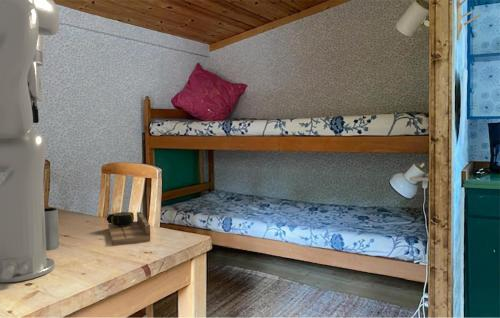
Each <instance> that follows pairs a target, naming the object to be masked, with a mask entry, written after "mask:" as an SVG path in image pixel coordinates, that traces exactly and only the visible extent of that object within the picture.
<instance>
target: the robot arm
mask: <svg viewBox="0 0 500 318" xmlns="http://www.w3.org/2000/svg"><path fill="white" fill-rule="evenodd" d="M60 24H61V19H60V14H59V10H58V6H57V4H56V3H55V1H54V0H0V174H4V175H5V177H4V178H3V179H2V181H1V182H0V283H2V284H3V283H16V282H23V281H27V280H32V279H35V278H39V277H41V276H44V275H46V274H48V273H50V272H51V271H53V270H54V269H55V266H56V265H55V261H54V259H52V258H49V257H47V250H46V236H45V214H44V208H45V195H44V193H45V191H44V190H45V189H44V188H45V187H44V177H45V176H44V175H45V164H46V157H47V142H46V138H45V137H44V135H43V134H42V133H40V131H37V130H34V129H32V127H33V124H39V117H40V116H39V109H38V102H39V103H40V102H42V100H43V96H42V85H41V84H42V81H41V72H40V71H41V70H40V67H43V66H44V56H43V55H44V54H43V36H55V35H56V34H58V33H59V30H60Z"/></svg>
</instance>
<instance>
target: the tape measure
mask: <svg viewBox="0 0 500 318" xmlns="http://www.w3.org/2000/svg"><path fill="white" fill-rule="evenodd" d="M134 218H135V217H134V213H133V212H130V211H123V212H115V213H109V214H108V215H107V217H106V221H107V224H113V225H122V226H127V225H128V224H131V223H133V222H135V221H134V220H135V219H134Z"/></svg>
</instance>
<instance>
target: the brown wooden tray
mask: <svg viewBox="0 0 500 318" xmlns="http://www.w3.org/2000/svg"><path fill="white" fill-rule="evenodd" d="M107 224H108V225H107V226H108V232H109V236H110V241H111V244H112V246H119V245H127V244H129V245H130V244H137V243H145V242H151V225H150V223H149V222H148V220H147V219H146V217H145V216H144V214H143V213H142V212H141V211H137V212H136V221H133V223H131V224H128V225H127V226H122V225H113V224H111V223H107Z"/></svg>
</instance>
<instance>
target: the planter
mask: <svg viewBox="0 0 500 318" xmlns="http://www.w3.org/2000/svg"><path fill="white" fill-rule="evenodd" d="M58 210H59V209H58V208H56V207H46V208H45V207H44V214H45V236H46V251H51V250H55V249H58V248H59V247H60V238H59V237H60V234H59V233H60V232H59V216H58V215H59V214H58V212H59V211H58Z"/></svg>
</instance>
